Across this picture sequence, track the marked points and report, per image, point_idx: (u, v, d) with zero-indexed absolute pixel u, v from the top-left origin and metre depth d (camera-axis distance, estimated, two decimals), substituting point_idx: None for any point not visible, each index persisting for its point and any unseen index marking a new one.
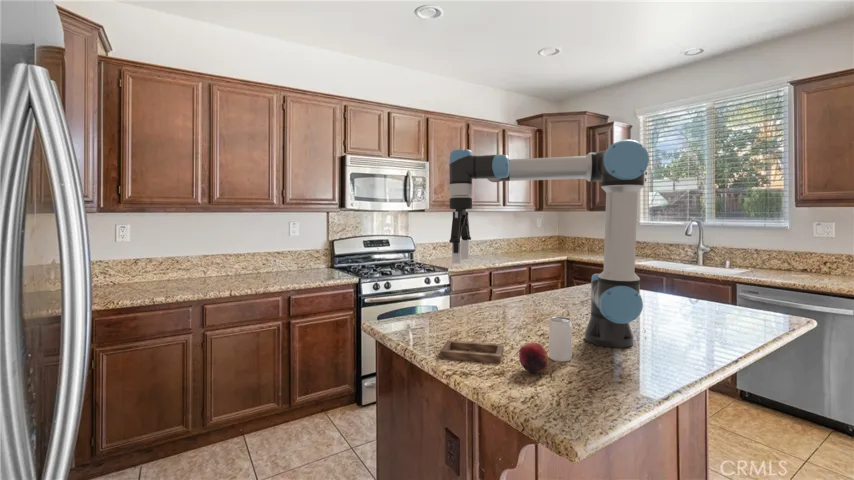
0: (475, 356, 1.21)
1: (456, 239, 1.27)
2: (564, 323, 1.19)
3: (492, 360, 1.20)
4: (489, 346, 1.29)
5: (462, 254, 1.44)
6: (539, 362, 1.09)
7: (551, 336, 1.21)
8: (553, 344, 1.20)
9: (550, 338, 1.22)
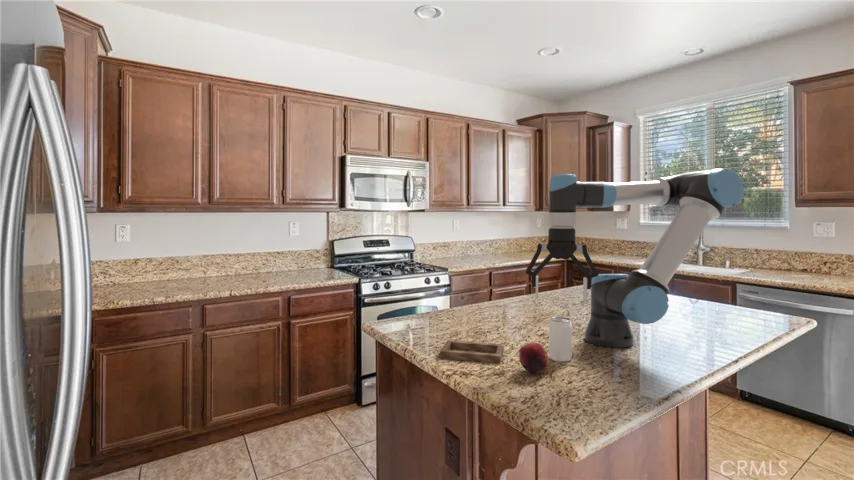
0: (475, 356, 1.21)
1: None
2: (564, 323, 1.19)
3: (492, 360, 1.20)
4: (489, 346, 1.29)
5: (583, 294, 1.21)
6: (539, 362, 1.09)
7: (551, 336, 1.21)
8: (553, 344, 1.20)
9: (550, 338, 1.22)
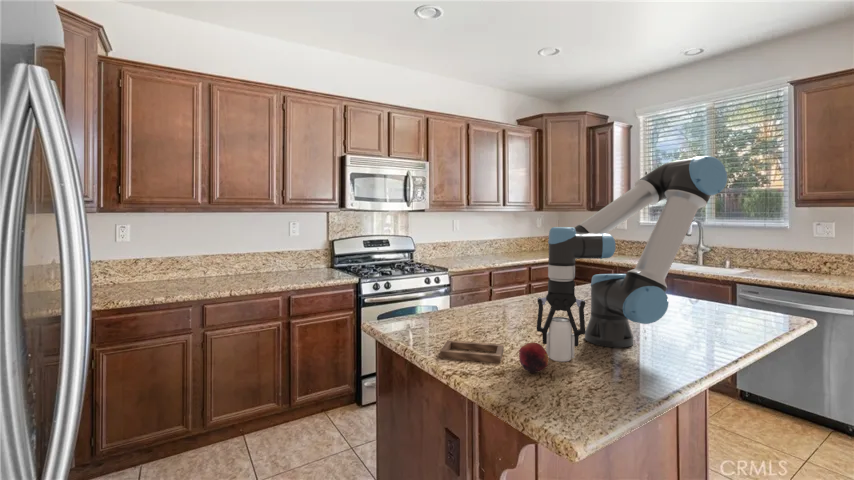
0: (475, 356, 1.21)
1: None
2: (564, 323, 1.19)
3: (492, 360, 1.20)
4: (489, 346, 1.29)
5: None
6: (539, 362, 1.09)
7: (551, 336, 1.21)
8: (553, 344, 1.20)
9: (550, 338, 1.22)
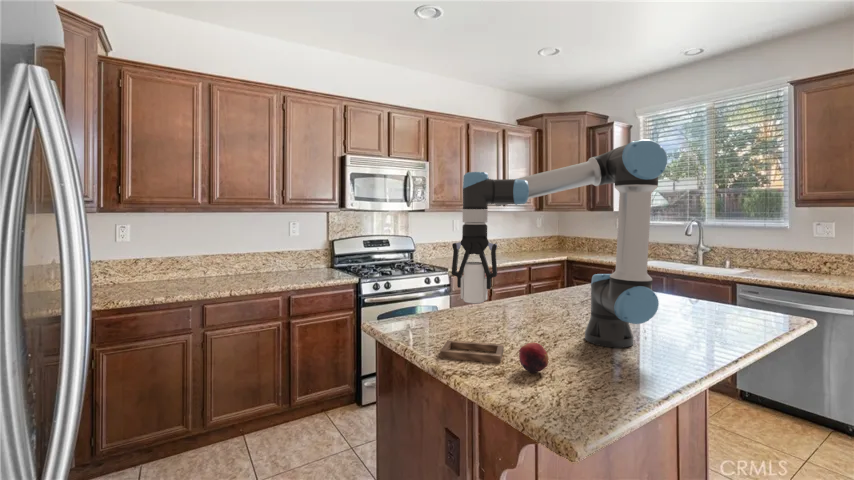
0: (475, 356, 1.21)
1: None
2: (476, 265, 1.22)
3: (492, 360, 1.20)
4: (489, 346, 1.29)
5: None
6: (539, 362, 1.09)
7: (464, 279, 1.24)
8: (466, 287, 1.23)
9: (464, 281, 1.25)
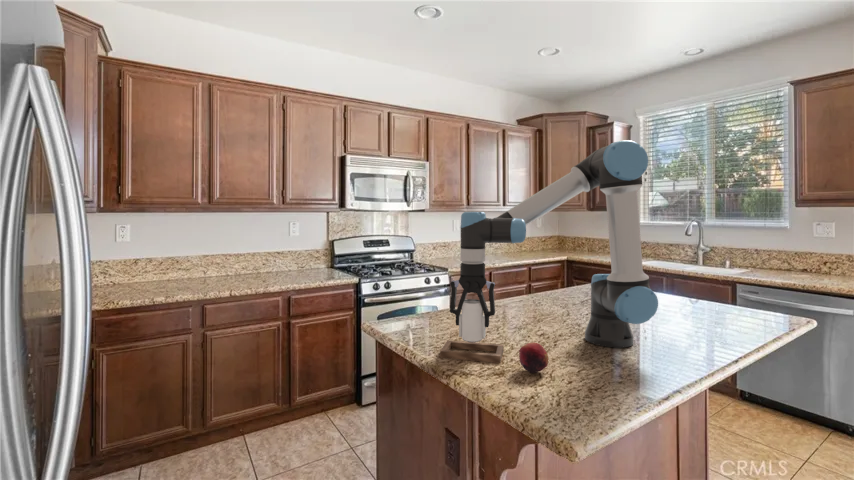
0: (475, 356, 1.21)
1: None
2: (474, 304, 1.23)
3: (492, 360, 1.20)
4: (489, 346, 1.29)
5: None
6: (539, 362, 1.09)
7: (462, 318, 1.25)
8: (464, 325, 1.24)
9: (462, 319, 1.26)
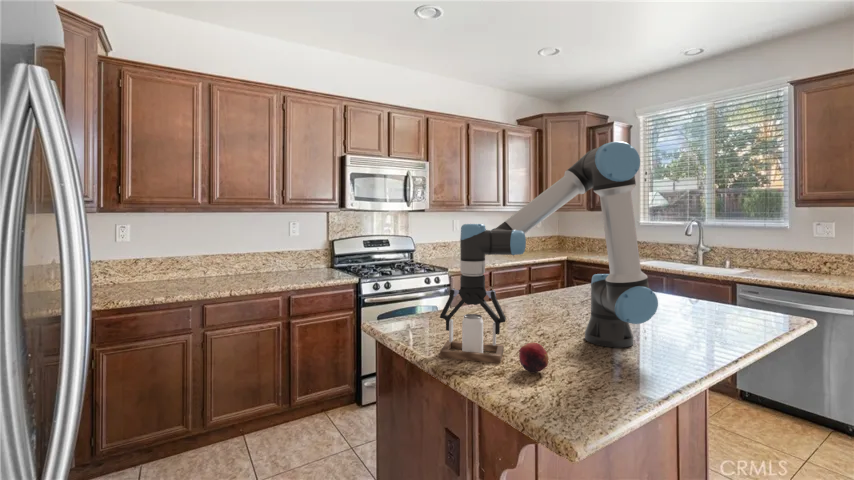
0: (475, 356, 1.21)
1: None
2: (474, 320, 1.23)
3: (492, 360, 1.20)
4: (489, 346, 1.29)
5: None
6: (539, 362, 1.09)
7: (463, 333, 1.25)
8: (464, 340, 1.25)
9: (462, 334, 1.26)
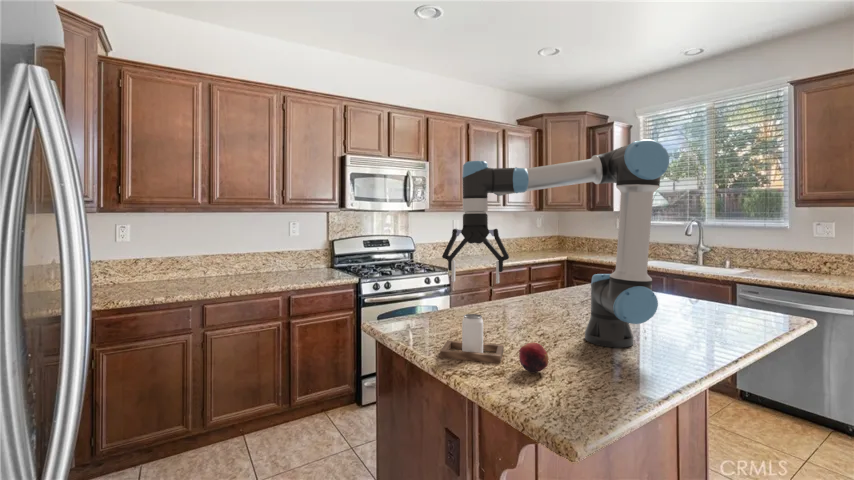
0: (475, 356, 1.21)
1: None
2: (474, 320, 1.23)
3: (492, 360, 1.20)
4: (489, 346, 1.29)
5: None
6: (539, 362, 1.09)
7: (463, 333, 1.25)
8: (464, 340, 1.25)
9: (462, 334, 1.26)
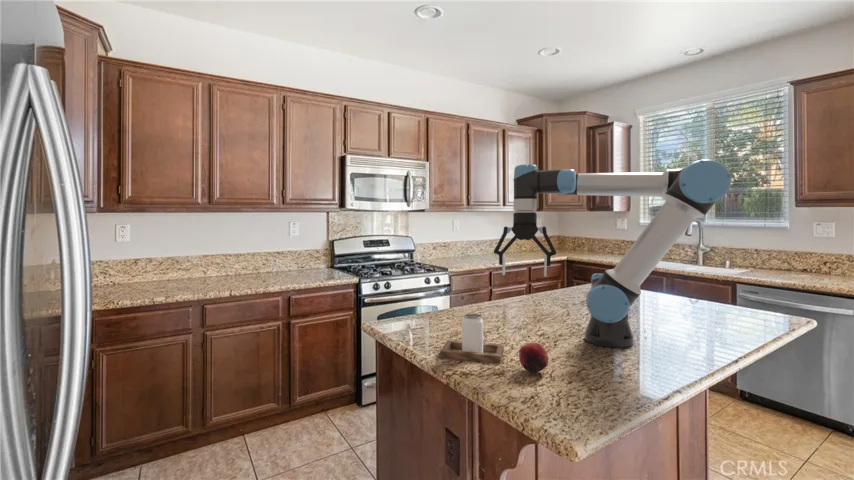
0: (475, 356, 1.21)
1: (494, 251, 1.39)
2: (474, 320, 1.23)
3: (492, 360, 1.20)
4: (489, 346, 1.29)
5: None
6: (539, 362, 1.09)
7: (463, 333, 1.25)
8: (464, 340, 1.25)
9: (462, 334, 1.26)
